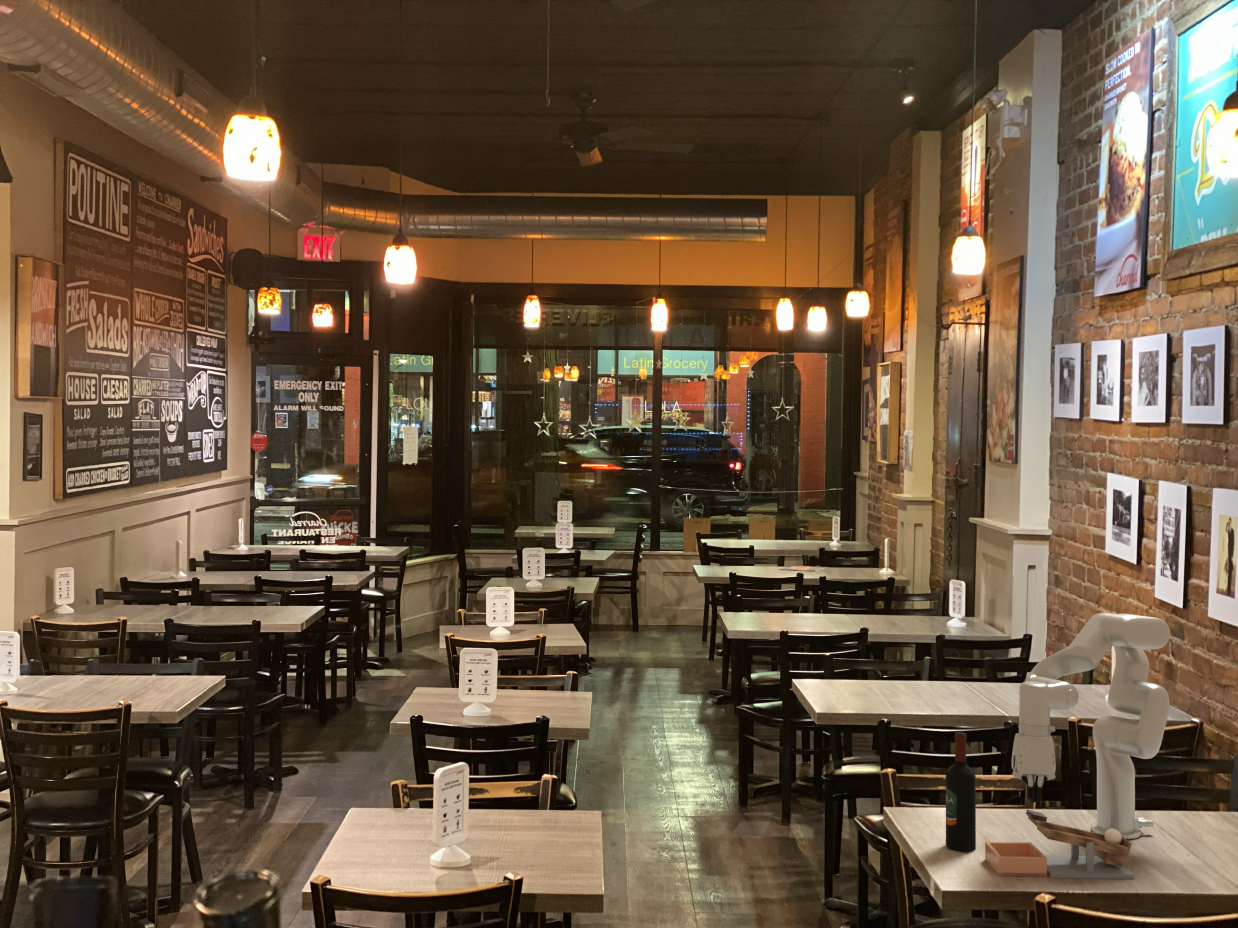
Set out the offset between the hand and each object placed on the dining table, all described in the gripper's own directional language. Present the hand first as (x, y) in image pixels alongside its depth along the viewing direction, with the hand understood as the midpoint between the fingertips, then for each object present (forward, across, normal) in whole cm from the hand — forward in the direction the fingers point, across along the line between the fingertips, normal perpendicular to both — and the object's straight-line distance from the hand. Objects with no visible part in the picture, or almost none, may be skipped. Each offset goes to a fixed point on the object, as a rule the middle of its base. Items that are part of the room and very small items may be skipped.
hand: (1033, 800), depth 289 cm
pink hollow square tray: (+14, +8, +11) cm, 19 cm away
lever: (+10, -8, +6) cm, 14 cm away
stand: (+14, -9, +11) cm, 19 cm away
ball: (+6, -16, +11) cm, 20 cm away
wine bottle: (+14, +17, -4) cm, 23 cm away
